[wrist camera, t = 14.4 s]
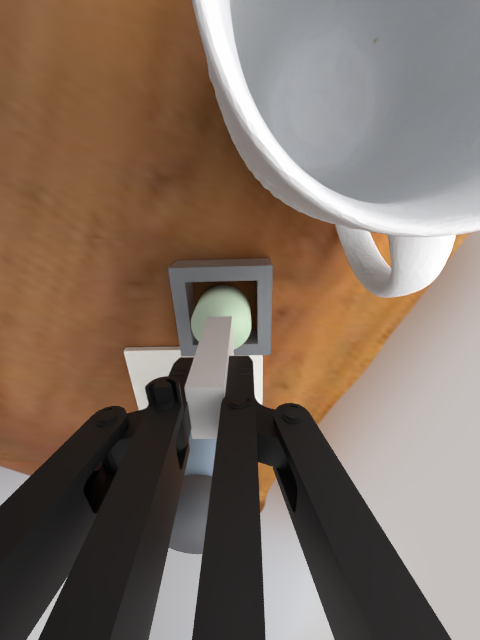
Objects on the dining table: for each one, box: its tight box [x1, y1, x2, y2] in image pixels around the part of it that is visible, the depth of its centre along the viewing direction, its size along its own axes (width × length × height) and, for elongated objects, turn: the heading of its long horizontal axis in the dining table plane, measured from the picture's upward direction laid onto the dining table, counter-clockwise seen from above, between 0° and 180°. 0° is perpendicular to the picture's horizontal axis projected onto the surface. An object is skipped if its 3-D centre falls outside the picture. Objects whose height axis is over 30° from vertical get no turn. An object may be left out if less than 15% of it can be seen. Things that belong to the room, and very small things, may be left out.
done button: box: [191, 285, 251, 349], centre depth 18 cm, size 4×4×3 cm
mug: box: [192, 0, 480, 297], centre depth 11 cm, size 15×11×13 cm
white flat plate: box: [123, 346, 263, 410], centre depth 25 cm, size 10×12×1 cm
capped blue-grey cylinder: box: [169, 432, 217, 554], centre depth 19 cm, size 4×4×11 cm
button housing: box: [168, 258, 273, 356], centre depth 20 cm, size 7×7×2 cm
